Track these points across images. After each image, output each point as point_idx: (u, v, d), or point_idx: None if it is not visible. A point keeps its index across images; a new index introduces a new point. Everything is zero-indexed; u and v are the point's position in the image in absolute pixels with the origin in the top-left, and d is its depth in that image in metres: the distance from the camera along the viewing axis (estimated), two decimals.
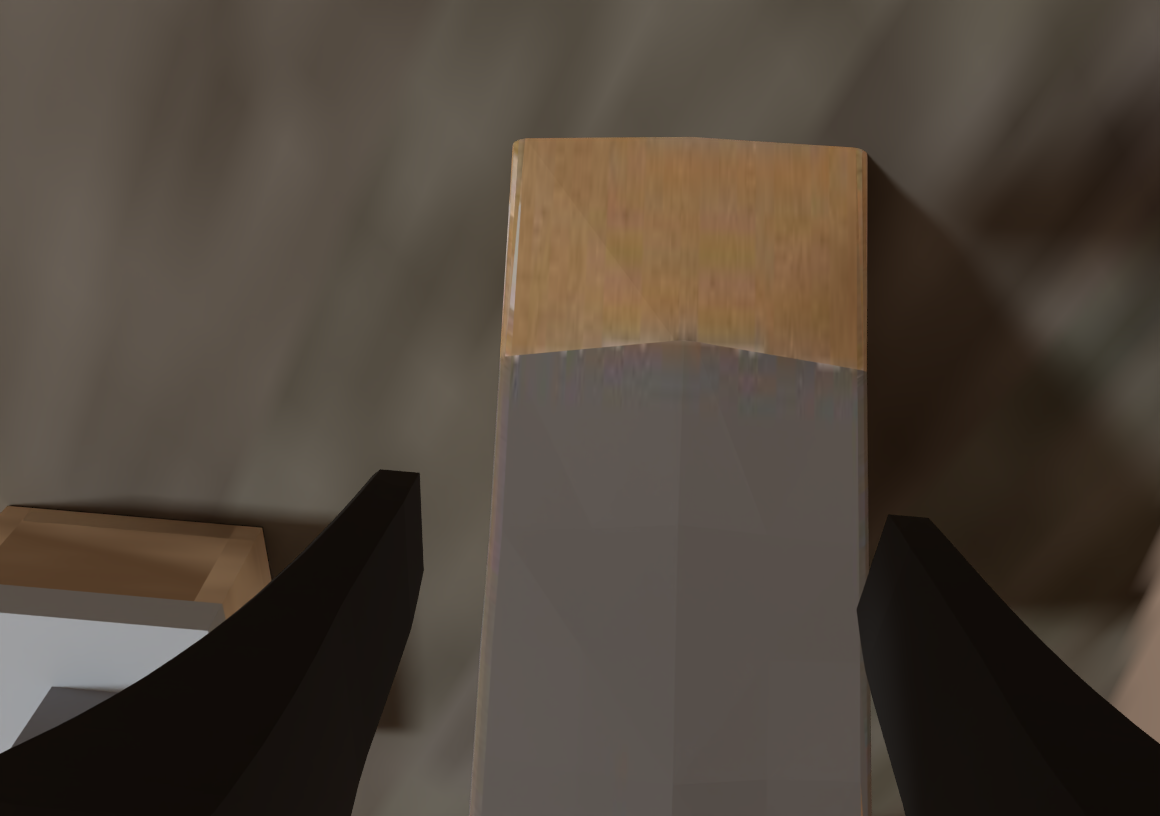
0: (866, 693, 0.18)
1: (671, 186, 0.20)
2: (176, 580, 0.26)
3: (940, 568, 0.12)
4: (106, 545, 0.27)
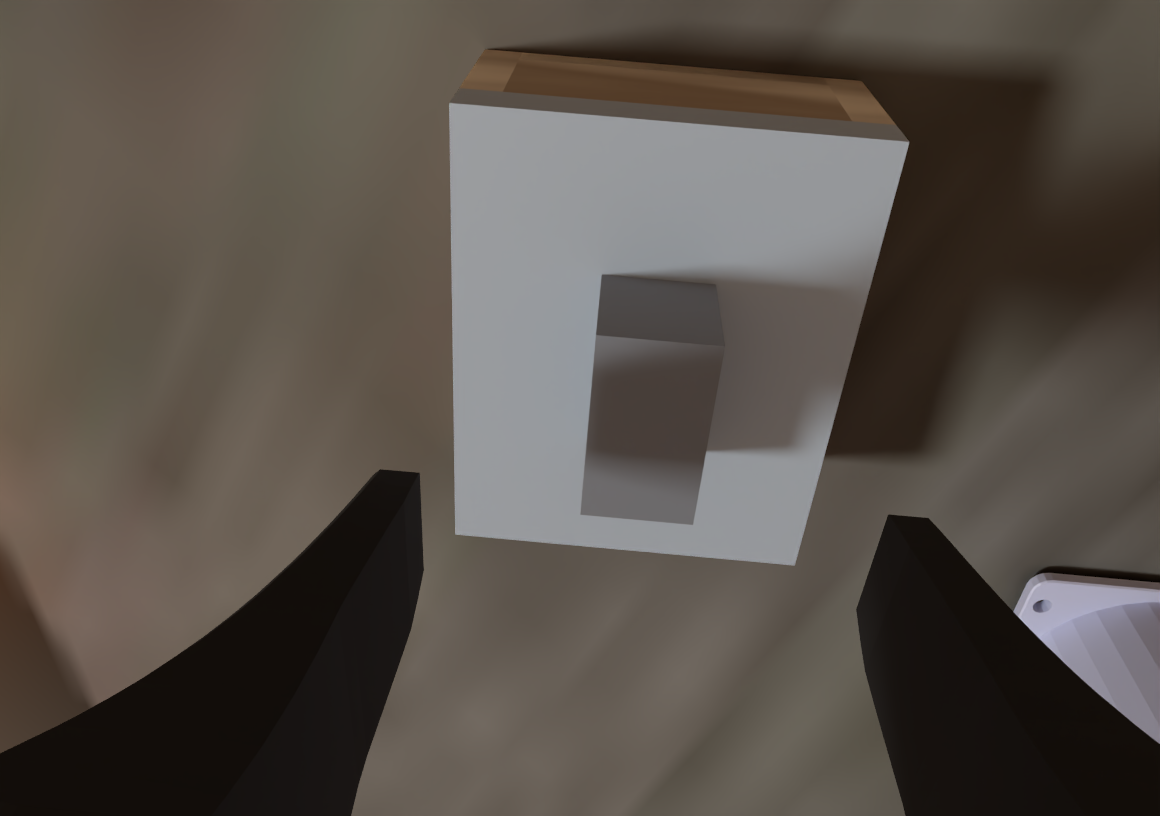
0: None
1: None
2: (802, 106, 0.17)
3: (940, 568, 0.12)
4: (663, 79, 0.18)
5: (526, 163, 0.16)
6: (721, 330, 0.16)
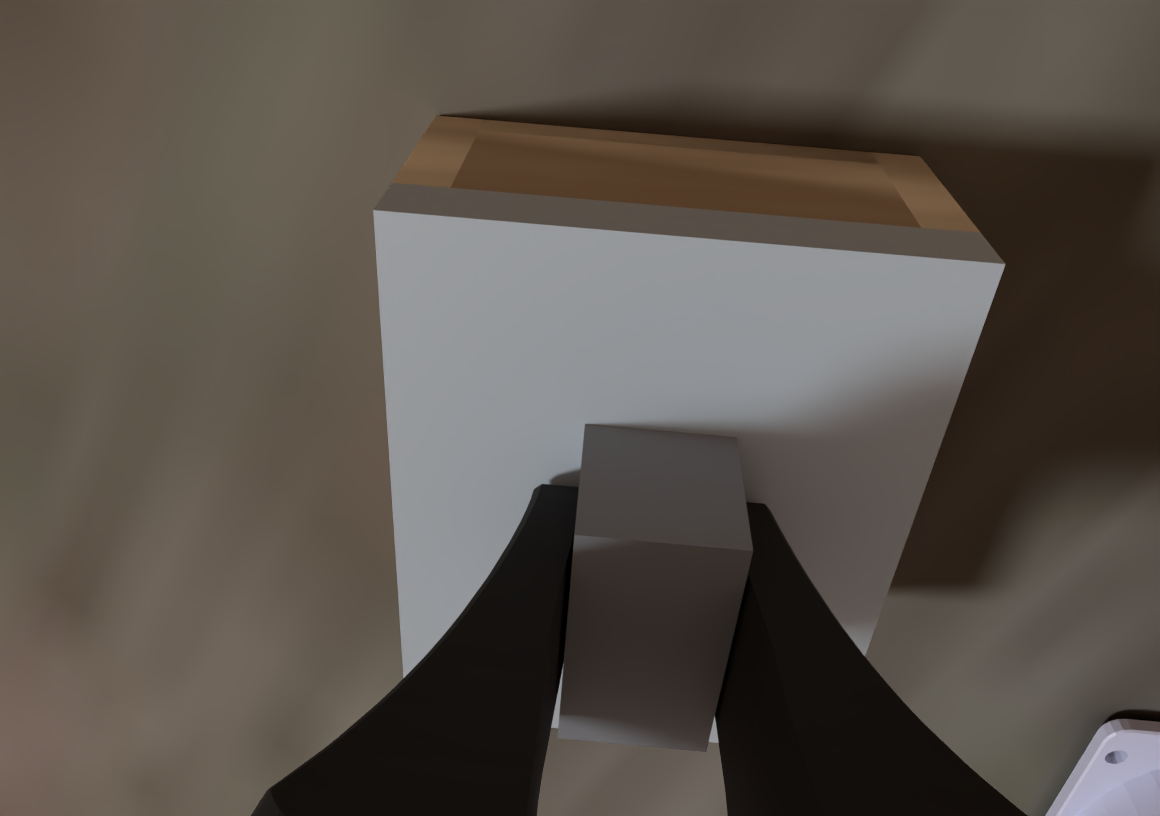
0: None
1: None
2: (851, 202, 0.13)
3: (757, 552, 0.12)
4: (666, 161, 0.14)
5: (481, 286, 0.12)
6: (747, 520, 0.12)
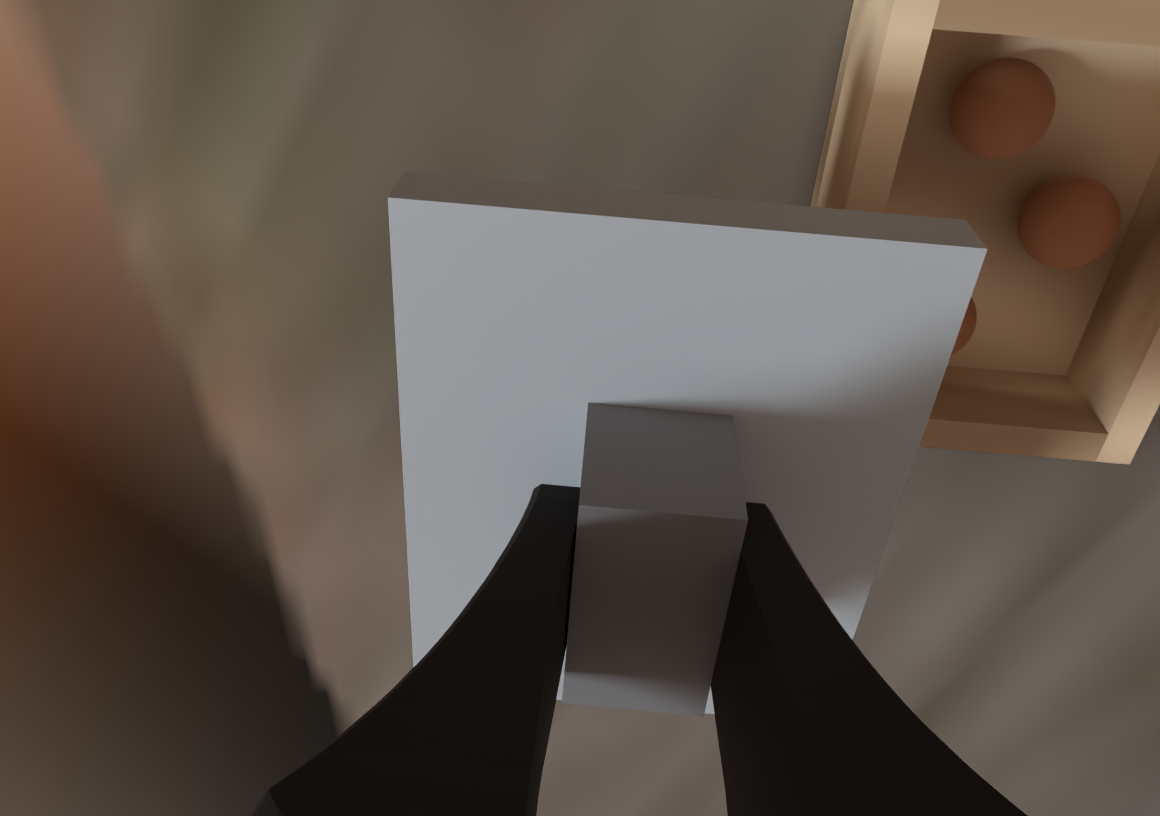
0: None
1: None
2: None
3: (757, 552, 0.12)
4: None
5: (489, 270, 0.13)
6: (742, 492, 0.12)
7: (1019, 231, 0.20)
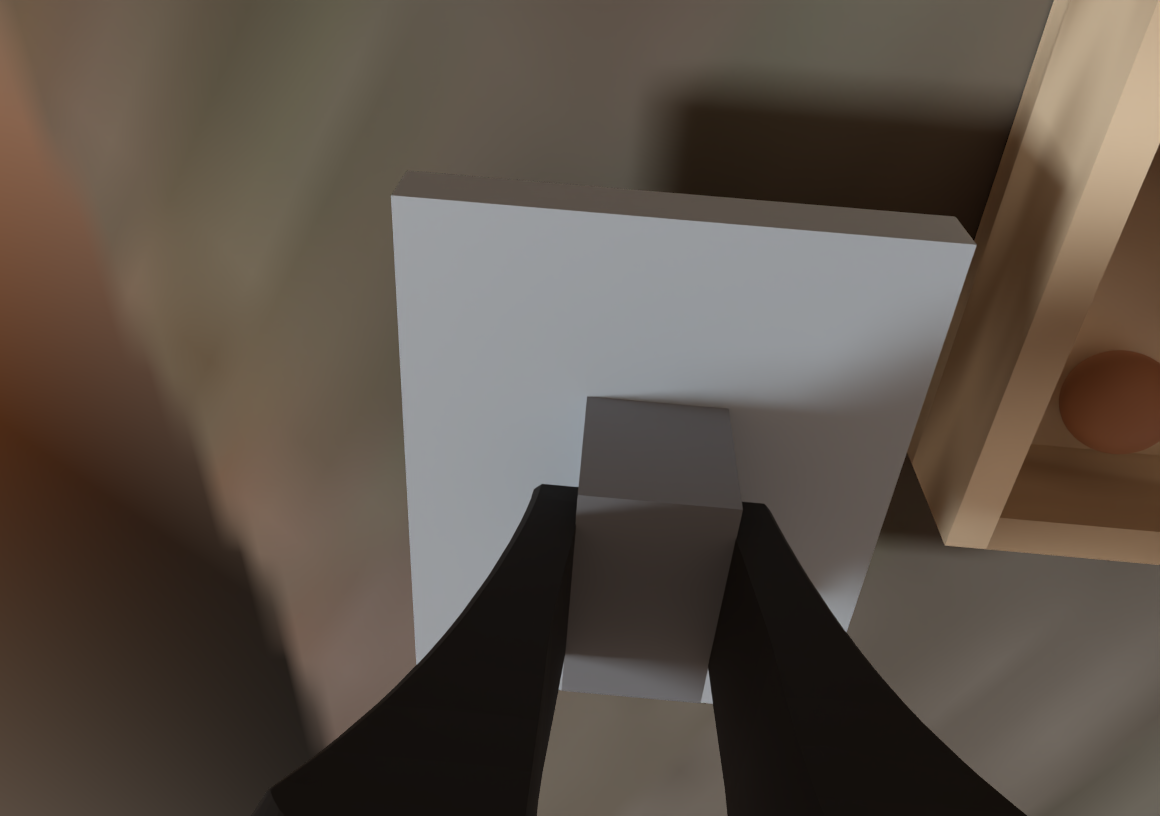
0: None
1: None
2: None
3: (757, 552, 0.12)
4: None
5: (490, 266, 0.13)
6: (737, 482, 0.12)
7: None
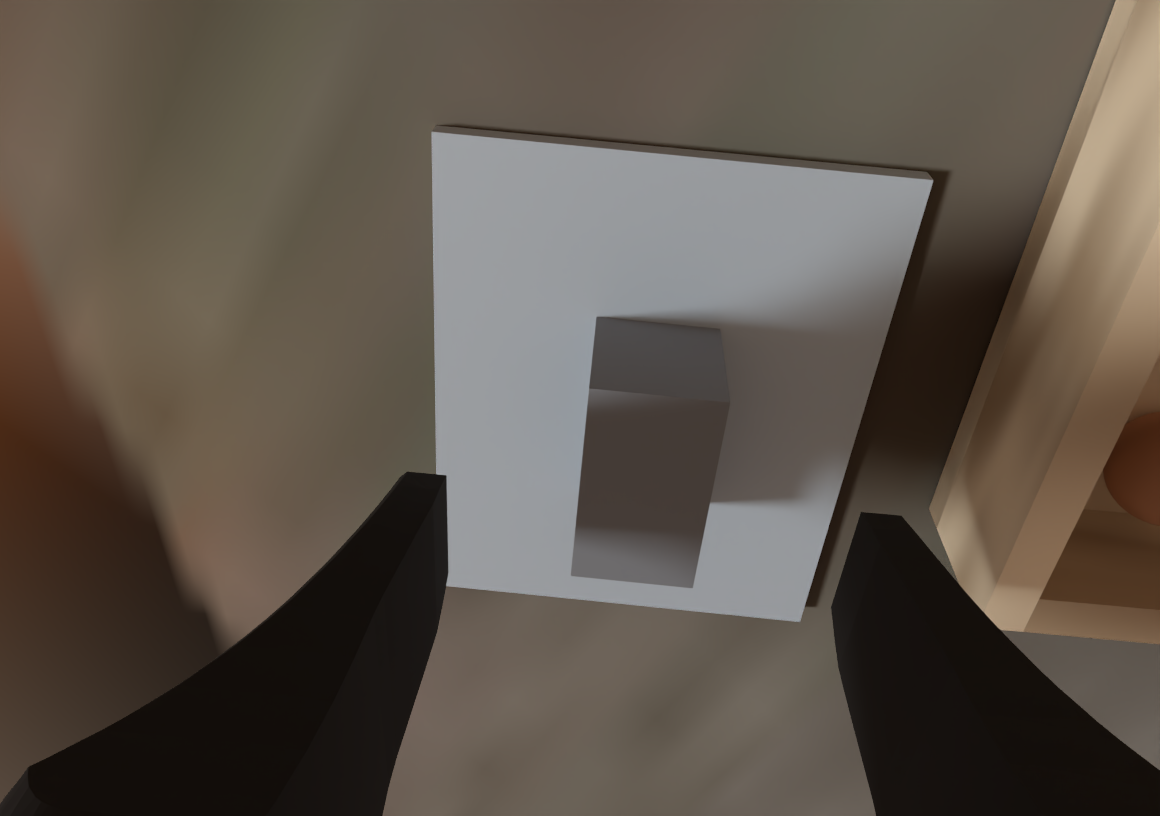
0: None
1: None
2: None
3: (910, 565, 0.12)
4: None
5: (515, 196, 0.15)
6: (726, 383, 0.14)
7: None
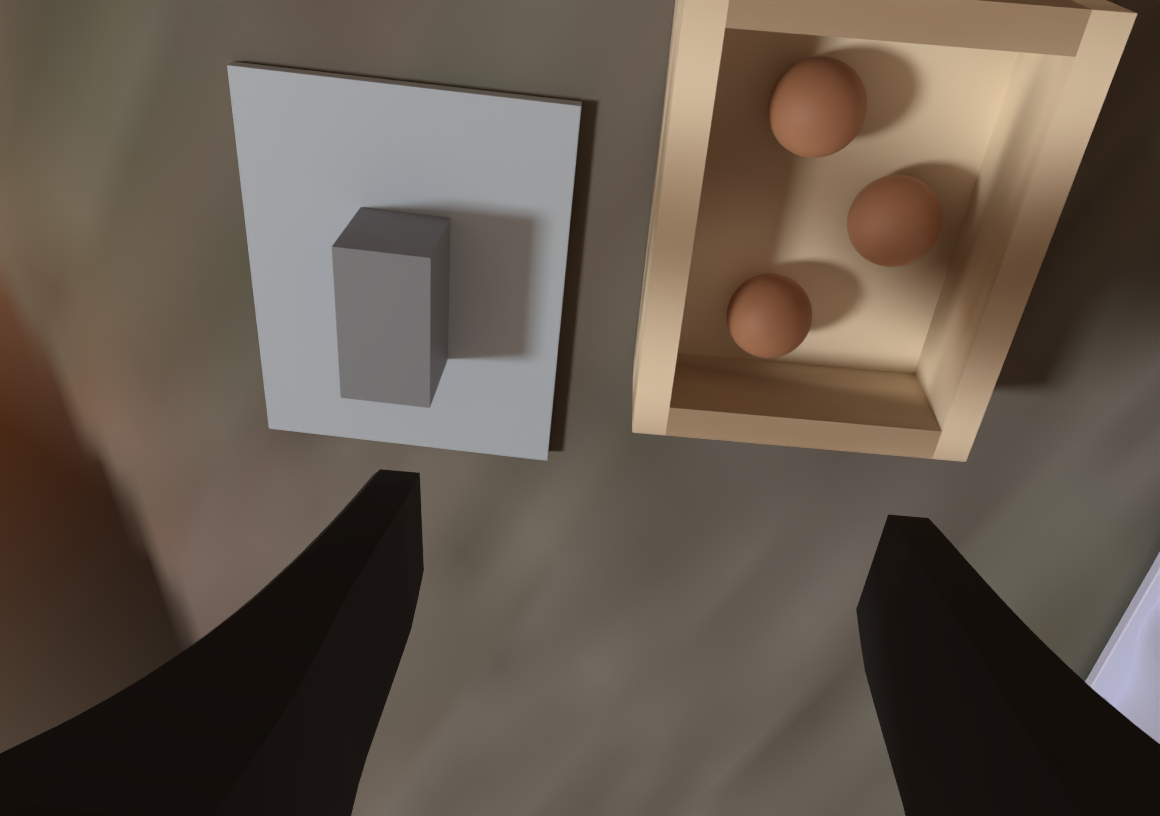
0: None
1: None
2: None
3: (940, 568, 0.12)
4: None
5: (291, 114, 0.21)
6: (434, 247, 0.20)
7: (847, 229, 0.20)
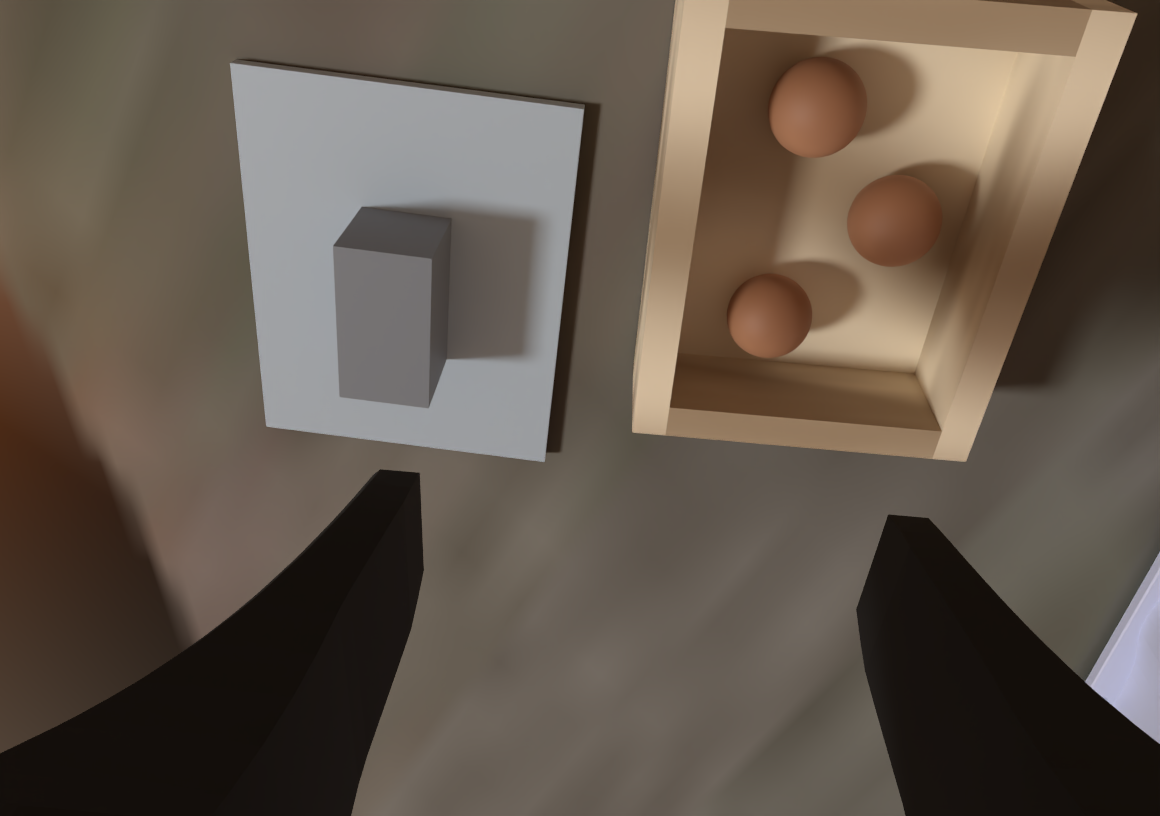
0: None
1: None
2: None
3: (940, 568, 0.12)
4: None
5: (293, 113, 0.21)
6: (435, 248, 0.20)
7: (847, 229, 0.20)
